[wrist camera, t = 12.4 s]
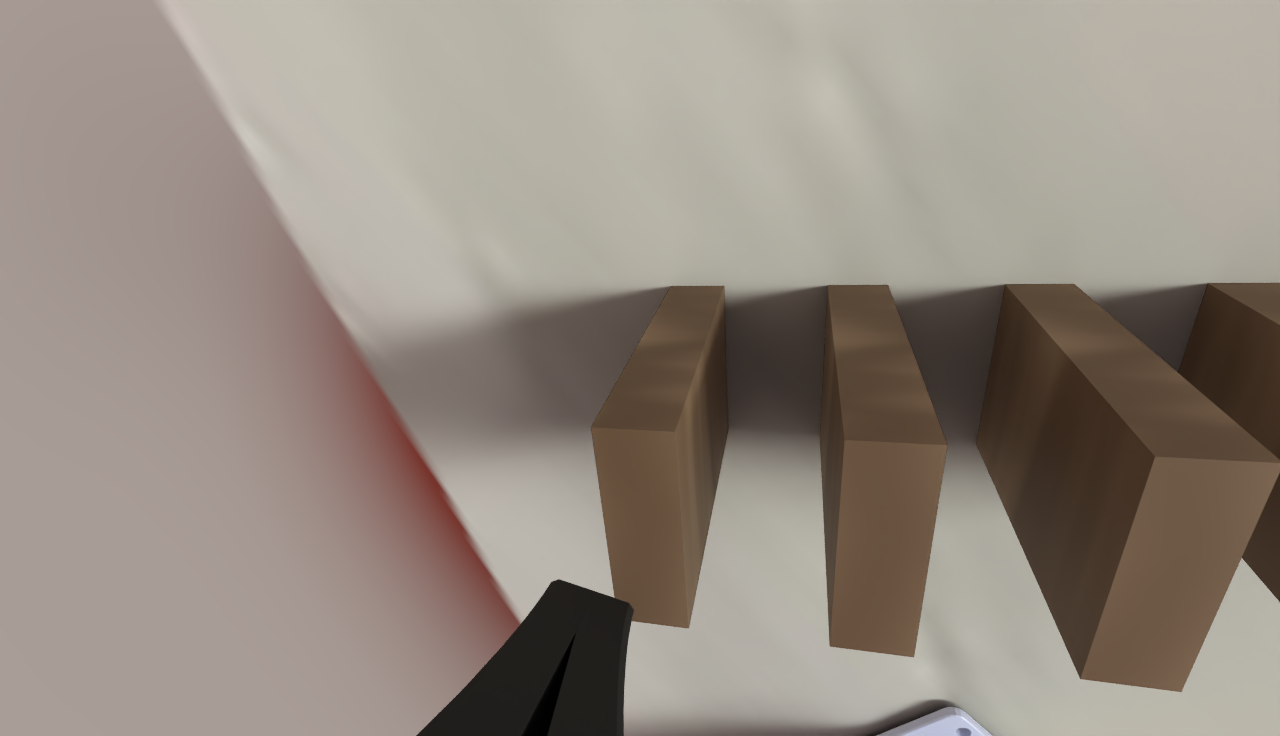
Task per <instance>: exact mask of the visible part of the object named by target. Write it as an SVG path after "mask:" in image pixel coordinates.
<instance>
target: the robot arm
mask: <svg viewBox="0 0 1280 736" xmlns="http://www.w3.org/2000/svg"><path fill="white" fill-rule="evenodd" d="M633 613H634V609H633V608H632V606H631V605H630V603H628V602H625V601H622V600H619V599H616V598H613V597H610V596H607V595H604V594H601V593H598V592H595V591H592V590H589V589H586V588H583V587H580V586H577V585H574V584H571V583H568V582H565V581H562V580H556V581H553V582H551V584H550V585H549V587H548V588H547V590H546V591H545V593H544V594H543V596H542V597H541V598H540V600H539V601H538V602H537V604H536V605H535V607H534V608H533V609H532V611H531V612H530V613H529V614H528V616H527V617H526V618H525V620H524V621H523V622H522V623H521V625H520V626H519V627H518V628H517V629H516V631H515V632H514V633H513V634H512V635H511V637H510V638H509V639H508V640H507V641H506V642H505V644H504V645H503V646H502V647H501V648H500V649H499V651H498V652H497V653H496V654H495V655H494V656H493V657H492V658H491V659H490V660H489V661H488V663H487V664H486V665H485V666H484V667H483V668H482V669H481V670H480V671H479V672H478V674H477V675H476V676H475V677H474V678H473V679H472V680H471V681H470V682H469V683H468V685H467V686H466V687H465V688H464V689H463V690H462V691H461V692H460V693H459V694H458V695H457V696H456V697H455V698H454V699H453V700H452V701H451V702H450V703H449V704H448V705H447V706H446V707H445V708H444V709H443V710H442V711H441V712H440V713H439V714H438V715H437V716H436V717H435V718H434V719H433V720H432V721H431V722H430V723H429V724H428V725H427V726H426V727H425V728H424V729H423V730H422V731H421V732H420V733H419V734H418V735H417V736H624V725H623V707H624V681H625V665H626V654H627V645H628V637H629V632H630V626H631V621H632V616H633ZM876 736H992V735H991V734H990V733H989V732H988V731H986V730H985V729H984V728H983V727H982V726H981V725H979V724H978V723H977V722H976V721H975V720H974V719H972V718H971V717H970V716H969V715H968V714H967V713H965V712H964V711H963V710H961V709H959V708H956V707H946V708H943V709H940V710H938V711H936V712H933V713H931V714H928V715H926V716H923V717H921V718H918V719H916V720H913V721H911V722H908V723H906V724H904V725H901V726H899V727H896V728H894V729H891V730H889V731H886V732H884V733H881V734H879V735H876Z"/></svg>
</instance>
